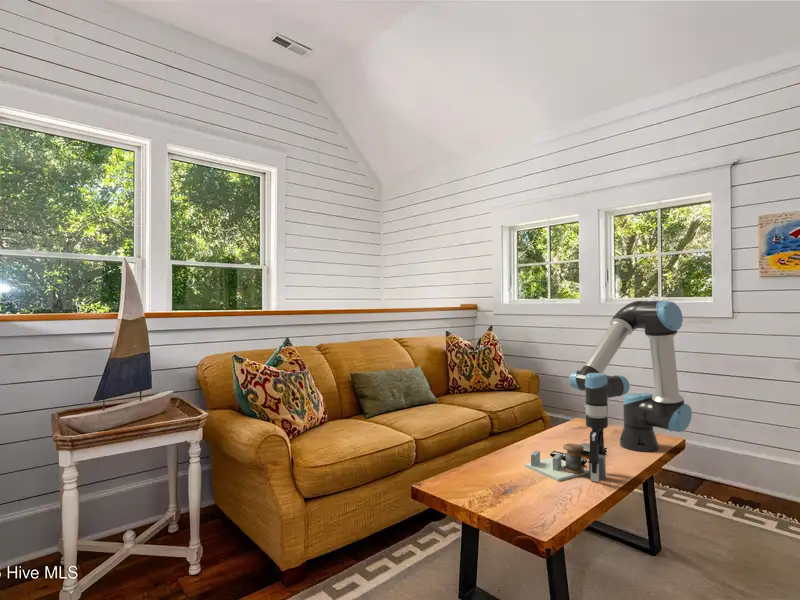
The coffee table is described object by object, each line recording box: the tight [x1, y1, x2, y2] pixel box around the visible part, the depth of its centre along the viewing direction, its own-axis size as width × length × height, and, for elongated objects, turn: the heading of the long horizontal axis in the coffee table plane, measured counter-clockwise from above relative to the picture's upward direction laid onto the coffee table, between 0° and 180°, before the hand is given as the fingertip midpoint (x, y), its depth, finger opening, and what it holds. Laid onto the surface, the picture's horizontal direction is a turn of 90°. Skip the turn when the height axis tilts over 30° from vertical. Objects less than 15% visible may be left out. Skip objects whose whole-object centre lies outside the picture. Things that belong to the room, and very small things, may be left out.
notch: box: [530, 450, 562, 471], centre depth 185 cm, size 6×10×4 cm, turn 58°
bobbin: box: [562, 443, 584, 474], centre depth 180 cm, size 7×7×9 cm
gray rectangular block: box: [588, 454, 607, 481], centre depth 176 cm, size 4×5×8 cm
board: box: [524, 456, 589, 482], centre depth 184 cm, size 16×18×1 cm
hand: (597, 476), depth 176 cm, fingers open, 9 cm apart
